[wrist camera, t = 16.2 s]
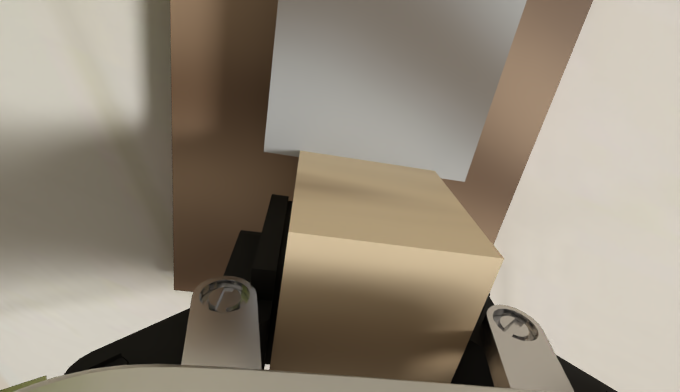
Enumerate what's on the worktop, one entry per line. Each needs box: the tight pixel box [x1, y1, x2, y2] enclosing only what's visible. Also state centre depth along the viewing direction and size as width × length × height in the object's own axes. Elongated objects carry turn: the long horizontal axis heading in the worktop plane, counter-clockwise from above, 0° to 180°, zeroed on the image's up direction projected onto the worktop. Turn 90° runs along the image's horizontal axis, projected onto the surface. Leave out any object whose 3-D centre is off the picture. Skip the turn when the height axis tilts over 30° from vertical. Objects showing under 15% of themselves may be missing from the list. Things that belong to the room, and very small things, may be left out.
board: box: [170, 0, 593, 292], centre depth 13 cm, size 14×12×1 cm
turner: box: [264, 0, 527, 383], centre depth 9 cm, size 13×6×5 cm, turn 170°
